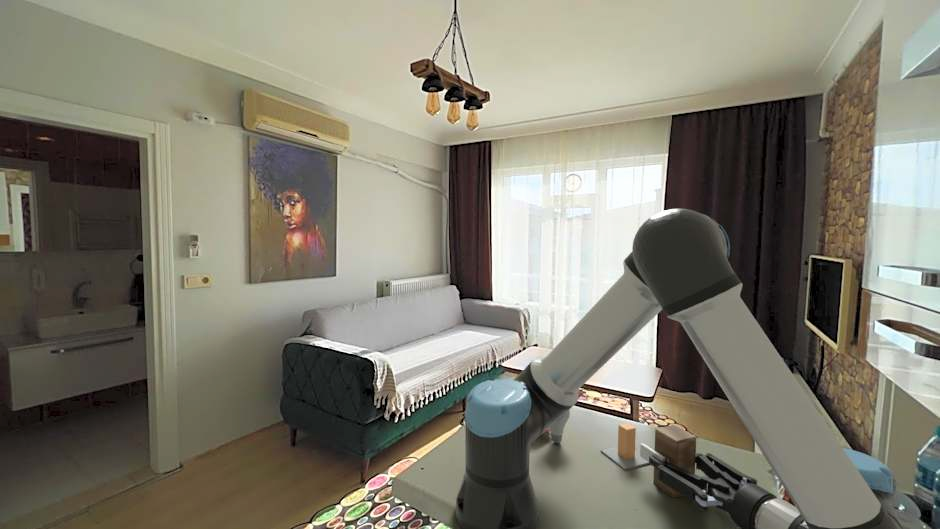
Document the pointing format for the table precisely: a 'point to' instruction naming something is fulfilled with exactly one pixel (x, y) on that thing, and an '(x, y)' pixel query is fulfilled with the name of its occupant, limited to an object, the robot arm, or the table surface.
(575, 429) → the table surface
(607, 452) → the grey square base plate
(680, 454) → the brown wooden block
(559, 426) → the lightbulb
